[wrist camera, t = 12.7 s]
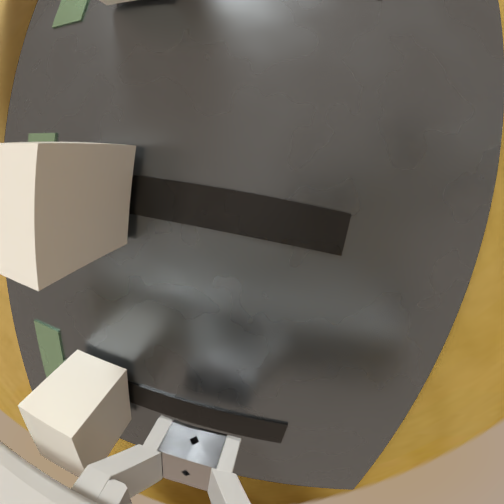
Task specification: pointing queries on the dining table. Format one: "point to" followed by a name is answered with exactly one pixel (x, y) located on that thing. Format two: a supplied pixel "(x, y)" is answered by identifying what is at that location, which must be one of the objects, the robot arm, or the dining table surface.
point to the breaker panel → (270, 210)
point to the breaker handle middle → (61, 207)
